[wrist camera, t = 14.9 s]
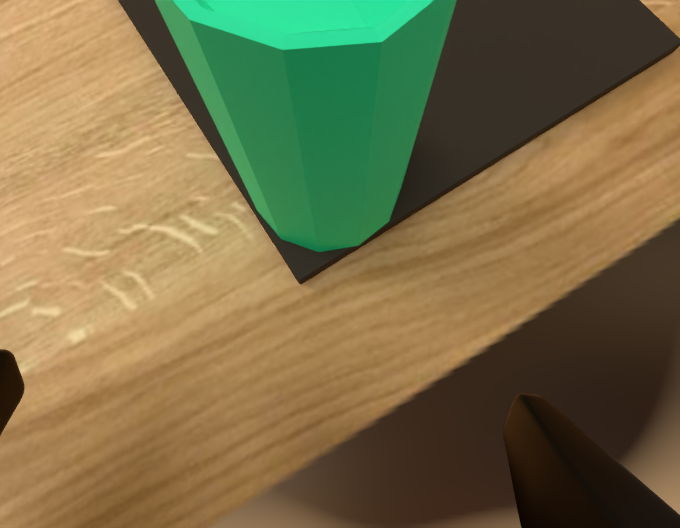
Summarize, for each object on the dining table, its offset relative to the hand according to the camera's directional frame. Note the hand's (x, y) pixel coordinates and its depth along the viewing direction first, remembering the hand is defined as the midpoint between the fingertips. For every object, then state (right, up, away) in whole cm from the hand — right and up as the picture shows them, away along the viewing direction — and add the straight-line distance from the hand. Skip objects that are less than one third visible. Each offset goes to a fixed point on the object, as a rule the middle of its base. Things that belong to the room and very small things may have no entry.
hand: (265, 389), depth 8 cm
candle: (+1, +6, +10) cm, 11 cm away
